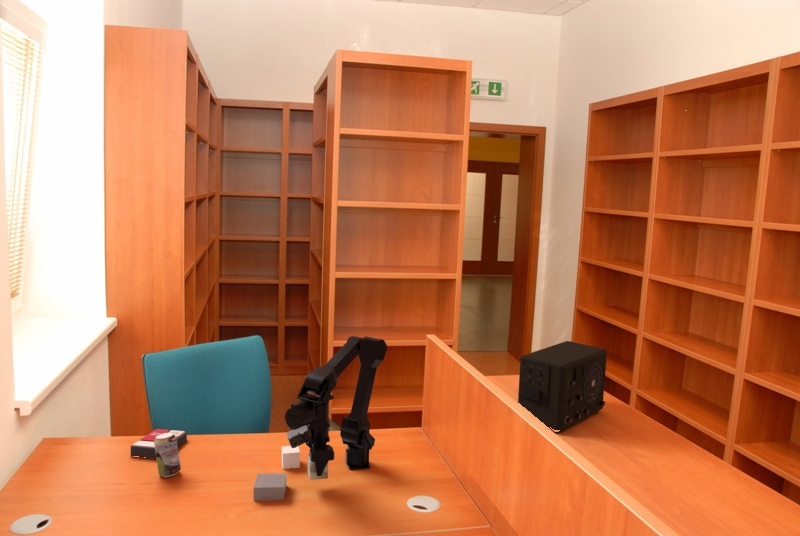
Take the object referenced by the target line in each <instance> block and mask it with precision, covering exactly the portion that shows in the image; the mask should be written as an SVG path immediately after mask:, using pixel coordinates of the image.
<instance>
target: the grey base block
mask: <svg viewBox="0 0 800 536" xmlns="http://www.w3.org/2000/svg"><path fill="white" fill-rule="evenodd" d="M287 475H288V474H287V473H286V472H284V473H281V472H280V473H276V472H275V473H257V475H256V478H255V482H254V485H253V502H258V501H259V502H261V501H262V502H265V501H268V502H269V501H284V500H285V497H286V496H285V495H286V491H287Z"/></svg>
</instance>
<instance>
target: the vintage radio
mask: <svg viewBox="0 0 800 536" xmlns="http://www.w3.org/2000/svg"><path fill="white" fill-rule="evenodd" d="M607 356H608V351H607V350H606V348H603V347H602V348H601V347H598V346H597V347H596V346H591V345H587V344H583V343H579V342H575V341H570V340H566V341H563V342H560V343H557V344H554V345H551V346H548V347H545V348H541V349H538V350H535V351H532V352H529V353H526V354H523V355H521V356H520V363H519V381H518V397H517V404H518V403H520V404H521V405H522V406H523V407H525V408H526V409H527V410H528V411H530V412H531V413H532V414H533V415H534V416H535V417H537V418H538V419H539V420H540V421H541V422H543V423H544V424H545V425H546V426H547V427H549V428H550V427H551V428H552V429H554V430H562V431H564V430H566V429H567V428H569V427H571V426H573V425H574V424H576V423H578V422H580V421H582V420H584V419H586V418H587V417H590V416H591V415H593V414H596V413H597V412H599V411H600V410H603V408H604V406H606V401H605V400H604V396H605V395H604V394H605V384H606V383H605V382H606V380H605V379H606V372H607V371H606V369H607ZM595 412H596V413H595ZM551 428H550V429H551ZM552 429H551V430H550V431H552V432H553V430H552Z"/></svg>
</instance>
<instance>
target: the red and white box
mask: <svg viewBox="0 0 800 536" xmlns="http://www.w3.org/2000/svg"><path fill="white" fill-rule="evenodd" d="M169 432H172V433H174V435H175V436H176V439H177V446H178V448H179V447H181V446H182V445H183V444H185V443H186V442H187V441H188V439H187V438H188V437H187V436H188V433H187V432H186V431H184V430H173V429H171V430H170V429H163V428H156V429H154V430H152V431H151V432H150V433H148V434H146V435H145V436H143V437H142V438H140V439H139V440H138V441H136V442H134V443H133V444H132V445H130V457H131V456H139V457H146V458H145V459H147V458H154V459H153V460H157V459H156V452H155V445H154V441H155V439H156V436H158V435H160V434H163V433H169Z"/></svg>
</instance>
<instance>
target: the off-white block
mask: <svg viewBox="0 0 800 536" xmlns="http://www.w3.org/2000/svg"><path fill="white" fill-rule="evenodd" d="M281 467H282V470H292V469H299V468H300V469H301V451H300V446H297V447H296V448H291V445H285V446H281ZM291 468H292V469H291Z"/></svg>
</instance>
